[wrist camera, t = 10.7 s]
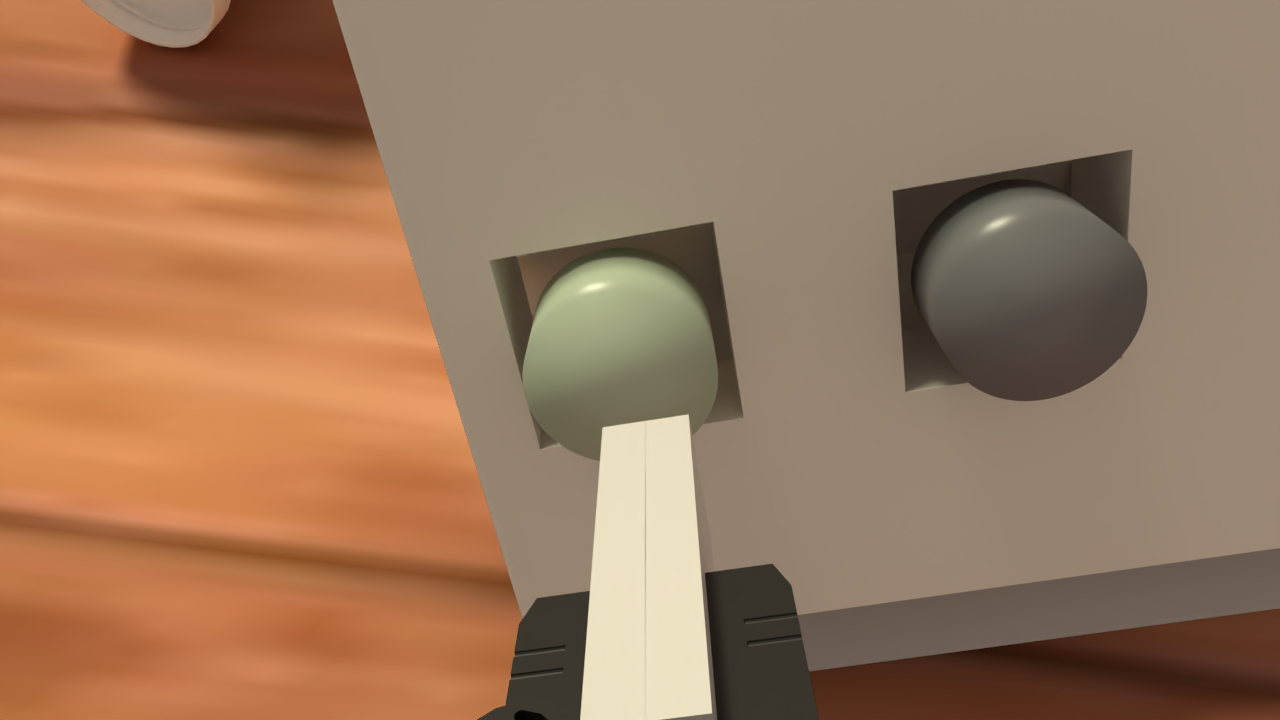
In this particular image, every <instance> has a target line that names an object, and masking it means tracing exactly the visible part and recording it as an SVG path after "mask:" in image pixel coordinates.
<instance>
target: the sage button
mask: <svg viewBox="0 0 1280 720" xmlns="http://www.w3.org/2000/svg"><path fill="white" fill-rule="evenodd" d="M522 376H523V388H524V394H525V398H526V401H527V403H528V406H529V408H530V410H531V412H532V414H533V416H534V418H535V419H536V421H537V422H538V424H539V425H540V426H541V428H542V429H543V430H544V431H545V432H546V433H547V434H548V435H549V436H550V437H551V438H552V439H554V440H555V441H556V442H557V443H559V444H560V445H562V446H563V447H565V448H566V449H568V450H570V451H572V452H574V453H576V454H578V455H580V456H583V457H586V458H589V459H593V460H597V461H600V455H601V442H602V429H603V427H608V426H615V425H622V424H628V423H635V422H641V421H648V420H655V419H661V418H668V417H675V416H681V415H688V414H689V420H690V425H691V431H692V436H693V435H694V434H695V433H696V432H697V431H698V430H699V428H700V427H701V426H702V424H703V423H704V422H705V420H706V419H707V417H708V415H709V413H710V411H711V409H712V407H713V404H714V401H715V398H716V393H717V389H718V368H717V360H716V354H715V348H714V341H713V335H712V329H711V322H710V316H709V312H708V308H707V304H706V302H705V299H704V297H703V295H702V293H701V291H700V290H699V288H698V286H697V285H696V284H695V282H694V281H693V280H692V278H691V277H690V276H689V275H688V274H687V273H686V272H685V271H684V270H683V269H681V268H680V267H679V266H677V265H676V264H675V263H673V262H671V261H670V260H668V259H666V258H664V257H662V256H660V255H657V254H655V253H653V252H649V251H645V250H641V249H635V248H608V249H602V250H598V251H594V252H591V253H588V254H585V255H583V256H581V257H579V258H577V259H575V260H573V261H571V262H570V263H569V264H567V265H566V266H564V267H563V268H562V269H561V270H560V271H559V272H558V273H557V274H555V275H554V277H553V278H552V279H551V280H550V282H549V283H548V284H547V286H546V287H545V289H544V291H543V292H542V294H541V296H540V299H539V301H538V304H537V307H536V311H535V315H534V320H533V324H532V328H531V333H530V337H529V341H528V346H527V350H526V355H525V359H524V364H523V373H522Z"/></svg>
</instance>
